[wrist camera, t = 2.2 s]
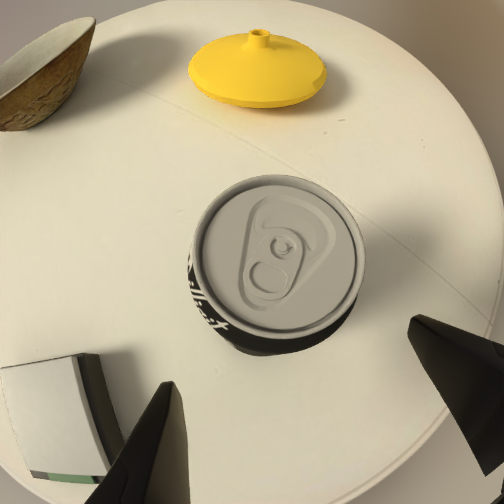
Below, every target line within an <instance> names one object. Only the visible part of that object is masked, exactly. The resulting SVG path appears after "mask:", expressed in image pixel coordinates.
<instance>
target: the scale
mask: <svg viewBox="0 0 504 504" xmlns="http://www.w3.org/2000/svg"><path fill="white" fill-rule="evenodd" d="M0 378H1V383H2V388H3V393H4V398H5V402H6V406H7V410H8V414H9V417H10V421H11V424H12V428H13V431H14V434H15V437H16V440H17V443H18V446H19V449H20V452H21V454H22V457H23V459H24V462H25V465H26V467H27V469H28V470H30V472H31V474H32V476H33V477H34V478H40V479H46V480H52V481H60V482H70V483H83V484H100V483H101V481H102V480H103V478H104V477H105V476H106V474H107V473H108V471H109V469H110V468H111V466H112V465H113V463H114V461H115V460H116V458H117V457H118V455H119V453H120V451H121V450H122V448H123V446H124V444H125V443H124V440H123V437H122V435H121V432H120V429H119V426H118V423H117V420H116V417H115V414H114V411H113V408H112V404H111V401H110V398H109V394H108V391H107V387H106V383H105V380H104V376H103V372H102V368H101V364H100V359H99V355H98V354H89V353H80V354H75V355H70V356H65V357H60V358H55V359H49V360H44V361H38V362H33V363H27V364H21V365H15V366H9V367H2V368H1V369H0Z"/></svg>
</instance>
